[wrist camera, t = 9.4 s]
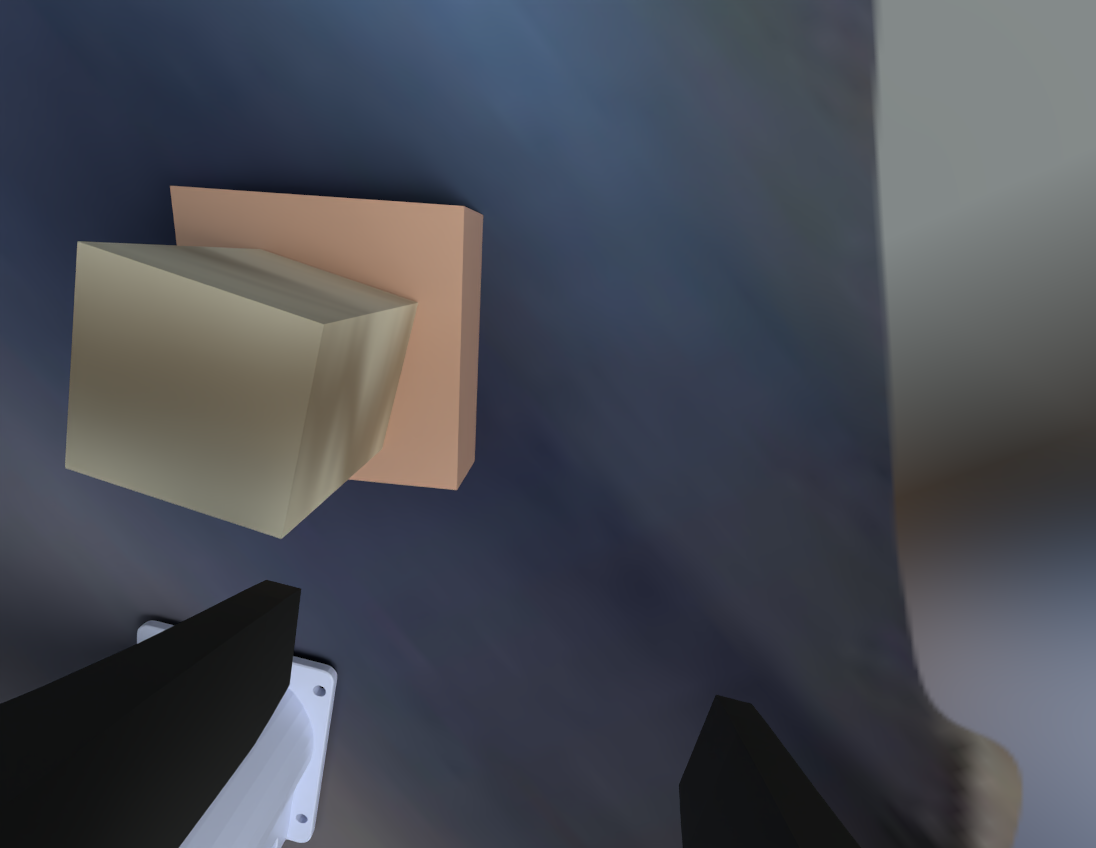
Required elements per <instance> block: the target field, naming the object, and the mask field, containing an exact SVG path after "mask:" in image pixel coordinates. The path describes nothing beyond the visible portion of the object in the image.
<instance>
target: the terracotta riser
mask: <svg viewBox="0 0 1096 848" xmlns="http://www.w3.org/2000/svg"><path fill="white" fill-rule="evenodd" d="M170 191H171V199H172V208H173V217H174V225H175V234H176V242H177V246H199V247H223V248H247V249H262V250H265V251H268V252H271V253H274V254H277V255H280V256H283V257H285V258H288V259H291V260H294V261H297V262H300V263H303V264H306V265H309V266H312V267H315V268H318V269H321V270H324V271H327V272H330V273H333V274H336V275H339V276H341V277H344V278H347V279H350V280H353V281H356V282H359V283H362V284H365V285H368V286H371V287H374V288H377V289H380V290H383V291H386V292H389V293H392V294H395V295H397V296H400V297H403V298H406V299H409V300H412V301H415V302H418V306H417V310H416V314H415V318H414V322H413V326H412V330H411V334H410V338H409V342H408V346H407V350H406V354H405V358H404V362H403V366H402V371H401V375H400V379H399V383H398V387H397V391H396V395H395V399H394V403H393V407H392V411H391V415H390V419H389V423H388V427H387V431H386V435H385V439H384V443H383V447H382V450H380V451H379V452H378V453H377V454H376V455H375V456H374V457H373V458H371V459H370V460H369V461H368V462H367V463H366V464H365V465H364V466H363V467H361V468H360V469H359V470H358V471H357V472H356V473H355V474H354V475H352V476H351V477H350V478H349V479H350V480H360V481H370V482H380V483H390V484H400V485H410V486H421V487H431V488H441V489H451V490H457V489H458V487H459V486H460V484H461V483H462V481H463V479H464V478H465V476H466V474H467V473H468V471H469V469H470V468H471V466H472V464H473V463H474V461H475V433H476V404H477V375H478V346H479V318H480V289H481V260H482V231H483V215H482V214H480V213H478V212H475V211H473V210H471V209H469V208H467V207H465V206H456V205H441V204H427V203H412V202H398V201H384V200H369V199H355V198H340V197H326V196H311V195H297V194H282V193H268V192H254V191H239V190H225V189H210V188H196V187H181V186H170Z"/></svg>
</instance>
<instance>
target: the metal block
mask: <svg viewBox="0 0 1096 848" xmlns="http://www.w3.org/2000/svg"><path fill="white" fill-rule="evenodd" d="M417 306H418V302H415V301H412V300H409V299H406V298H403V297H400V296H397V295H395V294H392V293H389V292H386V291H383V290H380V289H377V288H374V287H371V286H368V285H365V284H362V283H359V282H356V281H353V280H350V279H347V278H344V277H341V276H339V275H336V274H333V273H330V272H327V271H324V270H321V269H318V268H315V267H312V266H309V265H306V264H303V263H300V262H297V261H294V260H291V259H288V258H285V257H283V256H280V255H277V254H274V253H271V252H268V251H265V250H262V249H247V248H223V247H199V246H176V245H152V244H128V243H105V242H81V241H78V243H77V261H76V279H75V297H74V315H73V333H72V351H71V370H70V388H69V406H68V424H67V442H66V460H65V468H67V469H70V470H73V471H76V472H79V473H82V474H85V475H88V476H91V477H94V478H97V479H100V480H103V481H106V482H109V483H112V484H115V485H118V486H121V487H125V488H128V489H131V490H134V491H137V492H140V493H143V494H146V495H149V496H152V497H155V498H158V499H161V500H164V501H167V502H170V503H173V504H176V505H179V506H183V507H186V508H189V509H192V510H195V511H198V512H201V513H204V514H207V515H210V516H213V517H216V518H219V519H222V520H225V521H228V522H231V523H234V524H237V525H240V526H244V527H247V528H250V529H253V530H256V531H259V532H262V533H265V534H268V535H271V536H274V537H277V538H280V539H282V538H283V537H284V536H285V535H287V534H288V533H289V532H290V531H291V530H292V529H293V528H294V527H295V526H297V525H298V524H299V523H300V522H301V521H302V520H303V519H304V518H306V517H307V516H308V515H309V514H310V513H311V512H312V511H313V510H314V509H316V508H317V507H318V506H319V505H320V504H321V503H322V502H323V501H325V500H326V499H327V498H328V497H329V496H330V495H331V494H332V493H333V492H335V491H336V490H337V489H338V488H339V487H340V486H341V485H342V484H344V483H345V482H346V481H347V480H348V479H349V478H350V477H351V476H352V475H354V474H355V473H356V472H357V471H358V470H359V469H360V468H361V467H363V466H364V465H365V464H366V463H367V462H368V461H369V460H370V459H371V458H373V457H374V456H375V455H376V454H377V453H378V452H379V451H380V450H382V447H383V443H384V439H385V435H386V431H387V427H388V423H389V419H390V415H391V411H392V407H393V403H394V399H395V395H396V391H397V387H398V383H399V379H400V375H401V371H402V366H403V362H404V358H405V354H406V350H407V346H408V342H409V338H410V334H411V330H412V326H413V322H414V318H415V314H416V310H417Z"/></svg>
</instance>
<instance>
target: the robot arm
mask: <svg viewBox="0 0 1096 848" xmlns="http://www.w3.org/2000/svg"><path fill="white" fill-rule="evenodd" d="M300 594H301V589H300V588H296V587H292V586H288V585H285V584H281V583H277V582H273V581H269V580H265V581H263V582H261V583H259V584H257V585H254V586H252V587H250V588H248V589H246V590H244V591H242V592H240V593H238V594H236V595H234V596H232V597H230V598H228V599H226V600H224V601H222V602H220V603H218V604H216V605H215V606H213V607H211V608H209V609H207V610H205V611H203V612H201V613H199V614H197V615H195V616H193V617H191V618H189V619H187V620H185V621H183V622H181V623H179V624H177V625H171V624H167V623H163V622H159V621H154V620H150V621H147V622H145V623H144V624H143V625H142V626H141V627H140V628H139V629H138V631H137V644H136V645H134V646H132V647H129V648H127V649H125V650H123V651H121V652H118V653H116V654H114V655H112V656H110V657H107V658H105V659H103V660H101V661H98V662H96V663H94V664H92V665H89V666H87V667H85V668H83V669H81V670H78V671H76V672H74V673H72V674H69V675H67V676H65V677H63V678H60V679H58V680H56V681H54V682H52V683H49V684H47V685H45V686H43V687H40V688H38V689H36V690H33V691H31V692H28V693H26V694H24V695H21V696H19V697H16V698H14V699H11V700H9V701H7V702H4V703H2V704H0V848H281V847H282V845H283V843H284V841H285V839H288V840H292V841H295V842H301V843H303V842H307V841H308V840H310V838H311V836H312V834H313V832H314V829H315V823H316V816H317V809H318V803H319V796H320V789H321V783H322V776H323V769H324V763H325V756H326V749H327V742H328V736H329V729H330V722H331V716H332V709H333V702H334V696H335V689H336V682H337V673H336V671H335V670H334V669H333V668H332V667H331V666H329V665H326V664H323V663H319V662H315V661H311V660H307V659H303V658H299V657H295V656H293V653H294V645H295V636H296V628H297V619H298V611H299V602H300ZM320 686H322V687H324V689H323V688H321V687H320ZM679 795H680V814H681V830H682V843H683V848H861V847H860V846H859V845H858V843H857V842H856V841H855V840H854V838H853V837H852V836H851V834H850V833H849V832H848V831H847V829H846V828H845V827H844V825H843V824H842V823H841V821H840V820H839V819H838V818H837V816H836V815H835V814H834V812H833V811H832V810H831V808H830V807H829V806H828V805H827V803H826V802H825V801H824V799H823V798H822V797H821V795H820V794H819V793H818V791H817V790H816V789H815V787H814V786H813V785H812V783H811V782H810V781H809V779H808V778H807V777H806V775H805V774H804V773H803V771H802V770H801V768H800V767H799V766H798V764H797V763H796V762H795V760H794V759H793V758H792V756H791V755H790V754H789V752H788V751H787V750H786V748H785V747H784V746H783V744H782V743H781V742H780V740H779V739H778V738H777V736H776V735H775V734H774V732H773V731H772V730H771V728H770V727H769V726H768V724H767V723H766V722H765V720H764V719H763V718H762V716H761V715H760V714H759V713H758V711H757V710H756V709H755V708H754V706H753V705H752V704H750V703H746V702H742V701H738V700H735V699H731V698H727V697H723V696H719V695H716V696H715V698H714V701H713V703H712V706H711V708H710V711H709V713H708V715H707V718H706V720H705V723H704V725H703V728H702V730H701V732H700V735H699V737H698V740H697V742H696V745H695V747H694V750H693V752H692V754H691V757H690V759H689V762H688V764H687V767H686V769H685V771H684V774H683V776H682V779H681V781H680V784H679Z"/></svg>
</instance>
